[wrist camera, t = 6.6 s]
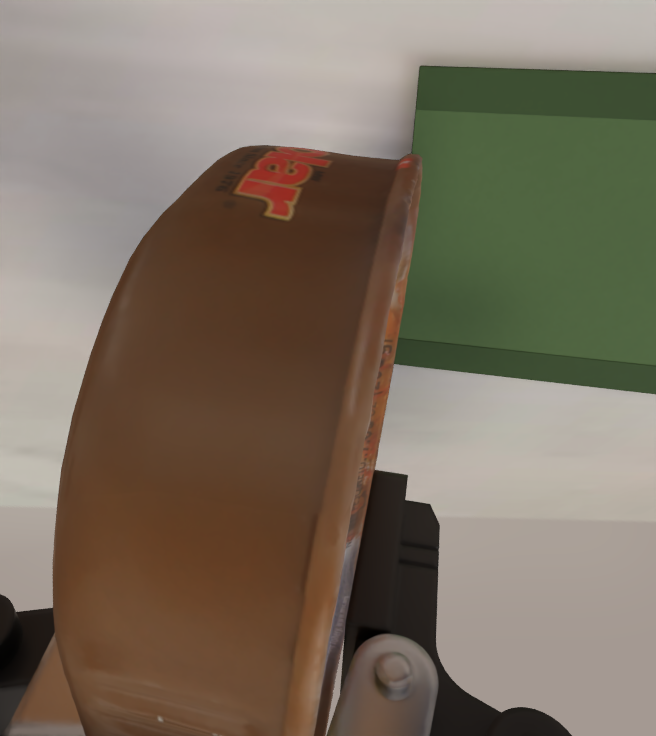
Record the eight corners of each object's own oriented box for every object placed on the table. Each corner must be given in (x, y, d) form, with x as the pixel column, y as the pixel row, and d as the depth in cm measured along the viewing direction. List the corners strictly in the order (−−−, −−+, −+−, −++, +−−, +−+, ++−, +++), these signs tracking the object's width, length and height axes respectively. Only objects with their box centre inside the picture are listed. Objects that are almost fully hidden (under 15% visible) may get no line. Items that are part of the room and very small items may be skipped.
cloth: (420, 65, 22) (419, 66, 22) (806, 77, 20) (810, 78, 20) (392, 360, 30) (392, 364, 29) (671, 392, 28) (673, 396, 27)
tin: (347, 622, 18) (302, 1025, 11) (251, 606, 18) (144, 989, 11) (438, 110, 9) (509, 374, 2) (259, 91, 10) (-157, 279, 3)
